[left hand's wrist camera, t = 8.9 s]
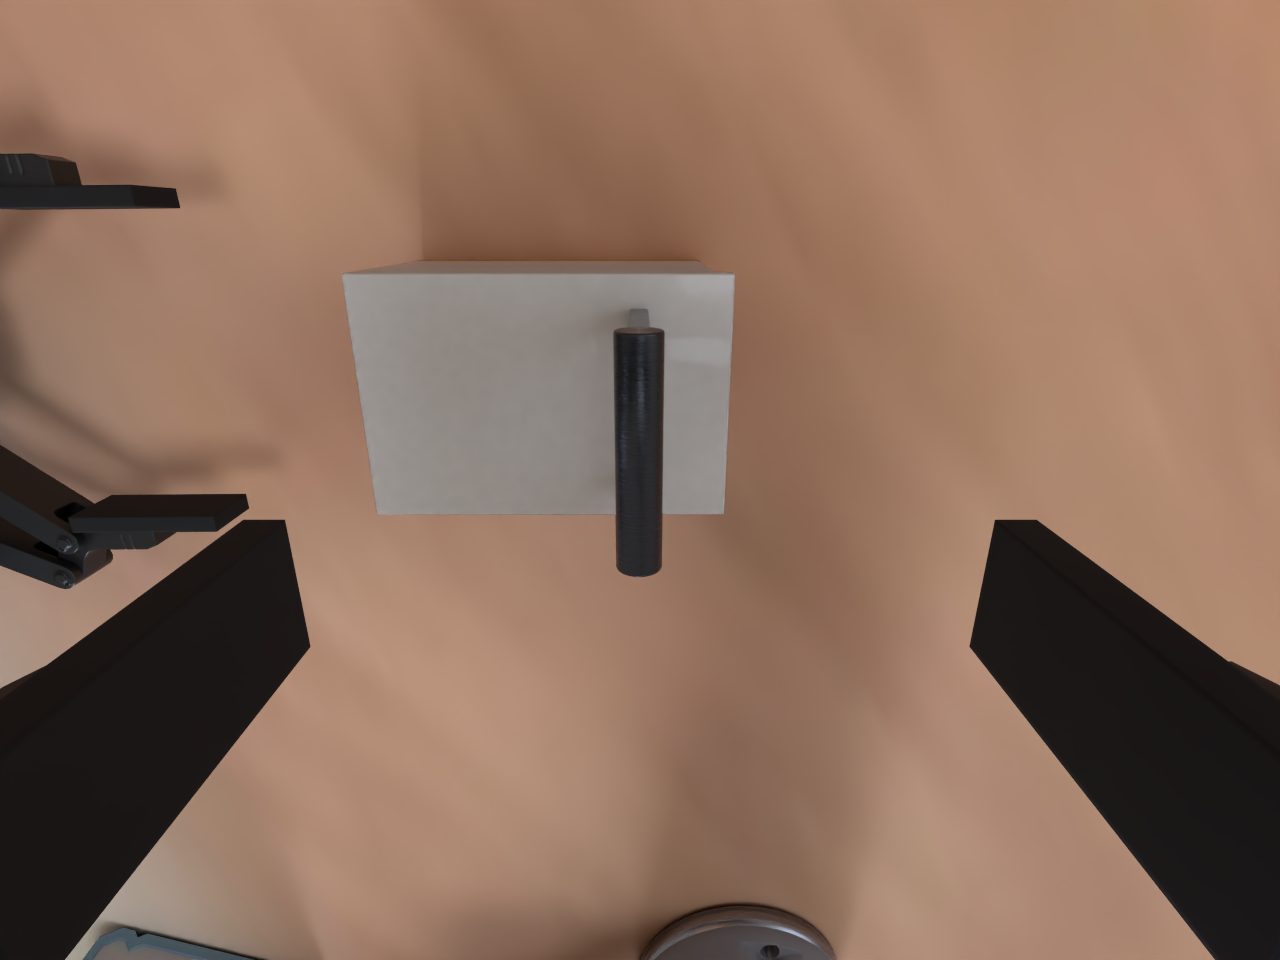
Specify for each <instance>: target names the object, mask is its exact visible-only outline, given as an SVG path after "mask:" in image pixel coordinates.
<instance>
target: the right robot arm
mask: <svg viewBox="0 0 1280 960" xmlns="http://www.w3.org/2000/svg"><path fill="white" fill-rule="evenodd" d="M146 208H180V205H179V200H178V196H177V192H176V189H174V188H162V187H150V186H138V185H82V184H81V180H80V177H79V173H78V170H77V166H76V163H75V162H73V161H70V160H68V159H65V158H62V157H56V156H47V155H39V154H0V209H21V210H38V209H146ZM247 509H249V506H248V501H247V497H246V494H182V495H111V496H109V497H107V498H105V499H103V500H101V501H99V502H97V503H95V504H94V503H93V502H91V501H89V500H88V499H86V498H85V497H83V496H81V495H80V494H78V493H77V492H75V491H73V490H72V489H70V488H69V487H67V486H65V485H64V484H62V483H61V482H59V481H57V480H56V479H54V478H52V477H51V476H49V475H48V474H46V473H44V472H43V471H41V470H40V469H38V468H36V467H35V466H33V465H32V464H30V463H28V462H27V461H25V460H24V459H22V458H20V457H19V456H17V455H16V454H14V453H12V452H11V451H9V450H7V449H6V448H4V447H3V446H1V445H0V566H3V567H5V568H8V569H11V570H14V571H16V572H19V573H22V574H24V575H27V576H30V577H32V578H35V579H38V580H40V581H43V582H46V583H48V584H51V585H54V586H56V587H59V588H63V589H69V588H71V587H73V586H74V585H76V584H78V583H79V582H81V581H83V580H84V579H86V578H87V577H89V576H90V575H92V574H94V573H95V572H97V571H98V570H100V569H101V568H103V567H104V566H106V565H107V564H109V563H111V561H112V559H113V554H112V552H111V550H110V549H149V548H151V547H154V546H156V545H158V544H159V543H161V542H162V541H164V540H165V539H167V538H169V537H170V536H172V535H173V534H175V533H176V532H217V531H218V530H220V529H221V528H222V527H224V526H225V525H227V524H228V523H229V522H231V521H232V520H233V519H235V518H236V517H238V516H239V515H240V514H242V513H243V512H245V511H246V510H247Z"/></svg>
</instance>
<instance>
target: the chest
mask: <svg viewBox="0 0 1280 960" xmlns="http://www.w3.org/2000/svg"><path fill="white" fill-rule="evenodd" d="M354 272H716V271H714V270H713V269H711V268H709V267H708V266H706V265H704V264H702V263H701V262H700V261H699V260H421V261H417V262H411V263H405V264H398V265H392V266H386V267H379V268H373V269H367V270H360V271H354Z"/></svg>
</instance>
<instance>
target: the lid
mask: <svg viewBox="0 0 1280 960" xmlns="http://www.w3.org/2000/svg"><path fill="white" fill-rule="evenodd" d="M342 282H343V288H344V295H345V302H346V309H347V315H348V322H349V329H350V336H351V342H352V349H353V356H354V362H355V369H356V376H357V383H358V389H359V396H360V403H361V409H362V416H363V423H364V430H365V436H366V443H367V450H368V457H369V463H370V470H371V477H372V483H373V490H374V497H375V504H376V510H377V514H378V515H616V567H617V569H618V570H619V571H620V572H621V573H623V574H625V575H628V576H633V577H645V576H650V575H653V574H655V573H657V572H658V571H659V570H660V569H661V567H662V515H722V514H724V501H725V480H726V459H727V438H728V417H729V396H730V375H731V354H732V333H733V311H734V290H735V274H734V273H732V272H348V273H343V274H342Z"/></svg>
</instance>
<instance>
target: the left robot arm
mask: <svg viewBox="0 0 1280 960" xmlns="http://www.w3.org/2000/svg"><path fill="white" fill-rule="evenodd" d="M309 648H310V642H309V637H308V632H307V627H306V622H305V617H304V612H303V607H302V602H301V597H300V592H299V587H298V582H297V578H296V573H295V568H294V563H293V558H292V553H291V548H290V543H289V538H288V533H287V528H286V523H285V520H243V521H241V522H240V523H239V524H237V525H236V526H234V527H233V528H232V529H230V530H229V531H228V532H226V533H225V534H224V535H222V536H221V537H220V538H218V539H217V540H216V541H214V542H213V543H211V544H210V545H209V546H207V547H206V548H205V549H203V550H202V551H201V552H199V553H198V554H197V555H195V556H194V557H193V558H191V559H190V560H188V561H187V562H186V563H184V564H183V565H182V566H180V567H179V568H178V569H176V570H175V571H174V572H172V573H171V574H170V575H168V576H167V577H166V578H164V579H163V580H161V581H160V582H159V583H157V584H156V585H155V586H153V587H152V588H151V589H149V590H148V591H147V592H145V593H144V594H143V595H141V596H140V597H138V598H137V599H136V600H134V601H133V602H132V603H130V604H129V605H128V606H126V607H125V608H124V609H122V610H121V611H120V612H118V613H117V614H115V615H114V616H113V617H111V618H110V619H109V620H107V621H106V622H105V623H103V624H102V625H101V626H99V627H98V628H97V629H95V630H94V631H93V632H91V633H90V634H88V635H87V636H86V637H84V638H83V639H82V640H80V641H79V642H78V643H76V644H75V645H74V646H72V647H71V648H70V649H68V650H67V651H65V652H64V653H63V654H61V655H60V656H59V657H57V658H56V659H55V660H53V661H52V662H51V663H49V664H48V665H46V666H44V667H42V668H40V669H38V670H36V671H34V672H32V673H30V674H28V675H26V676H24V677H22V678H20V679H18V680H16V681H14V682H12V683H10V684H8V685H6V686H4V687H2V688H1V689H0V960H65V959H66V958H67V956H68V955H69V954H70V952H71V951H72V950H73V949H74V947H75V946H76V945H77V944H78V942H79V941H80V940H81V938H82V937H83V936H84V935H85V933H86V932H87V931H88V930H89V928H90V927H91V926H92V924H93V923H94V922H95V921H96V919H97V918H98V917H99V915H100V914H101V913H102V912H103V910H104V909H105V908H106V907H107V905H108V904H109V903H110V901H111V900H112V899H113V898H114V896H115V895H116V894H117V893H118V891H119V890H120V889H121V887H122V886H123V885H124V884H125V882H126V881H127V880H128V879H129V877H130V876H131V875H132V873H133V872H134V871H135V870H136V868H137V867H138V866H139V865H140V863H141V862H142V861H143V859H144V858H145V857H146V856H147V854H148V853H149V852H150V850H151V849H152V848H153V847H154V845H155V844H156V843H157V842H158V840H159V839H160V838H161V836H162V835H163V834H164V833H165V831H166V830H167V829H168V828H169V826H170V825H171V824H172V822H173V821H174V820H175V819H176V817H177V816H178V815H179V814H180V812H181V811H182V810H183V808H184V807H185V806H186V805H187V803H188V802H189V801H190V800H191V798H192V797H193V796H194V794H195V793H196V792H197V791H198V789H199V788H200V787H201V785H202V784H203V783H204V782H205V780H206V779H207V778H208V777H209V775H210V774H211V773H212V771H213V770H214V769H215V768H216V766H217V765H218V764H219V763H220V761H221V760H222V759H223V757H224V756H225V755H226V754H227V752H228V751H229V750H230V749H231V747H232V746H233V745H234V743H235V742H236V741H237V740H238V738H239V737H240V736H241V734H242V733H243V732H244V731H245V729H246V728H247V727H248V726H249V724H250V723H251V722H252V720H253V719H254V718H255V717H256V715H257V714H258V713H259V712H260V710H261V709H262V708H263V706H264V705H265V704H266V703H267V701H268V700H269V699H270V698H271V696H272V695H273V694H274V692H275V691H276V690H277V689H278V687H279V686H280V685H281V684H282V682H283V681H284V680H285V678H286V677H287V676H288V675H289V673H290V672H291V671H292V669H293V668H294V667H295V666H296V664H297V663H298V662H299V661H300V659H301V658H302V657H303V655H304V654H305V653H306V652H307V650H308V649H309ZM970 648H971V649H972V650H973V652H974V653H975V654H976V655H977V657H978V658H979V659H980V661H981V662H982V663H983V664H984V666H985V667H986V668H987V669H988V671H989V672H990V673H991V675H992V676H993V677H994V678H995V680H996V681H997V682H998V684H999V685H1000V686H1001V687H1002V689H1003V690H1004V691H1005V692H1006V694H1007V695H1008V696H1009V698H1010V699H1011V700H1012V701H1013V703H1014V704H1015V705H1016V706H1017V708H1018V709H1019V710H1020V712H1021V713H1022V714H1023V715H1024V717H1025V718H1026V719H1027V720H1028V722H1029V723H1030V724H1031V726H1032V727H1033V728H1034V729H1035V731H1036V732H1037V733H1038V735H1039V736H1040V737H1041V738H1042V740H1043V741H1044V742H1045V743H1046V745H1047V746H1048V747H1049V749H1050V750H1051V751H1052V752H1053V754H1054V755H1055V756H1056V757H1057V759H1058V760H1059V761H1060V763H1061V764H1062V765H1063V766H1064V768H1065V769H1066V770H1067V771H1068V773H1069V774H1070V775H1071V777H1072V778H1073V779H1074V780H1075V782H1076V783H1077V784H1078V785H1079V787H1080V788H1081V789H1082V791H1083V792H1084V793H1085V794H1086V796H1087V797H1088V798H1089V800H1090V801H1091V802H1092V803H1093V805H1094V806H1095V807H1096V808H1097V810H1098V811H1099V812H1100V814H1101V815H1102V816H1103V817H1104V819H1105V820H1106V821H1107V822H1108V824H1109V825H1110V826H1111V828H1112V829H1113V830H1114V831H1115V833H1116V834H1117V835H1118V836H1119V838H1120V839H1121V840H1122V842H1123V843H1124V844H1125V845H1126V847H1127V848H1128V849H1129V850H1130V852H1131V853H1132V854H1133V856H1134V857H1135V858H1136V859H1137V861H1138V862H1139V863H1140V865H1141V866H1142V867H1143V868H1144V870H1145V871H1146V872H1147V873H1148V875H1149V876H1150V877H1151V879H1152V880H1153V881H1154V882H1155V884H1156V885H1157V886H1158V887H1159V889H1160V890H1161V891H1162V893H1163V894H1164V895H1165V896H1166V898H1167V899H1168V900H1169V901H1170V903H1171V904H1172V905H1173V907H1174V908H1175V909H1176V910H1177V912H1178V913H1179V914H1180V915H1181V917H1182V918H1183V919H1184V921H1185V922H1186V923H1187V924H1188V926H1189V927H1190V928H1191V930H1192V931H1193V932H1194V933H1195V935H1196V936H1197V937H1198V938H1199V940H1200V941H1201V942H1202V944H1203V945H1204V946H1205V947H1206V949H1207V950H1208V951H1209V952H1210V954H1211V955H1212V956H1213V958H1214V959H1215V960H1280V686H1279V685H1278V684H1276V683H1274V682H1272V681H1270V680H1268V679H1266V678H1264V677H1262V676H1260V675H1258V674H1256V673H1254V672H1252V671H1250V670H1248V669H1246V668H1244V667H1242V666H1240V665H1238V664H1236V663H1233V662H1228V661H1227V660H1225V659H1224V658H1223V657H1221V656H1220V655H1219V654H1217V653H1216V652H1215V651H1213V650H1212V649H1210V648H1209V647H1208V646H1206V645H1205V644H1204V643H1202V642H1201V641H1200V640H1198V639H1197V638H1196V637H1194V636H1193V635H1192V634H1190V633H1189V632H1187V631H1186V630H1185V629H1183V628H1182V627H1181V626H1179V625H1178V624H1177V623H1175V622H1174V621H1173V620H1171V619H1170V618H1169V617H1167V616H1166V615H1165V614H1163V613H1162V612H1160V611H1159V610H1158V609H1156V608H1155V607H1154V606H1152V605H1151V604H1150V603H1148V602H1147V601H1146V600H1144V599H1143V598H1142V597H1140V596H1139V595H1137V594H1136V593H1135V592H1133V591H1132V590H1131V589H1129V588H1128V587H1127V586H1125V585H1124V584H1123V583H1121V582H1120V581H1119V580H1117V579H1116V578H1114V577H1113V576H1112V575H1110V574H1109V573H1108V572H1106V571H1105V570H1104V569H1102V568H1101V567H1100V566H1098V565H1097V564H1096V563H1094V562H1093V561H1092V560H1090V559H1089V558H1087V557H1086V556H1085V555H1083V554H1082V553H1081V552H1079V551H1078V550H1077V549H1075V548H1074V547H1073V546H1071V545H1070V544H1069V543H1067V542H1066V541H1064V540H1063V539H1062V538H1060V537H1059V536H1058V535H1056V534H1055V533H1054V532H1052V531H1051V530H1050V529H1048V528H1047V527H1046V526H1044V525H1043V524H1041V523H1040V522H1039V521H1037V520H995V523H994V528H993V533H992V538H991V543H990V548H989V553H988V558H987V563H986V568H985V573H984V578H983V582H982V587H981V592H980V597H979V602H978V607H977V612H976V617H975V622H974V627H973V632H972V637H971V642H970ZM640 960H836V959H835V956H834V953H833V951H832V948H831V947H830V945H829V943H828V942H827V941H826V939H825V938H824V937H823V936H822V935H821V934H820V933H819V932H818V931H817V930H816V929H815V928H813V927H812V926H811V925H809V924H808V923H806V922H805V921H803V920H801V919H799V918H797V917H795V916H792V915H790V914H788V913H785V912H781V911H778V910H774V909H769V908H763V907H755V906H728V907H720V908H714V909H710V910H705V911H702V912H698V913H695V914H693V915H690V916H687V917H685V918H683V919H681V920H679V921H677V922H675V923H674V924H672V925H670V926H669V927H667V928H666V929H664V930H663V931H662V932H661V933H660V934H658V935H657V936H656V937H655V938H654V939H653V940H652V941H651V943H650V944H649V945H648V946H647V948H646V950H645V951H644V953H643V955H642V957H641V959H640Z"/></svg>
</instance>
